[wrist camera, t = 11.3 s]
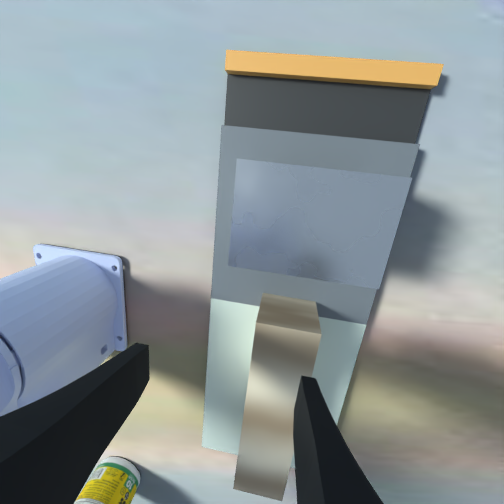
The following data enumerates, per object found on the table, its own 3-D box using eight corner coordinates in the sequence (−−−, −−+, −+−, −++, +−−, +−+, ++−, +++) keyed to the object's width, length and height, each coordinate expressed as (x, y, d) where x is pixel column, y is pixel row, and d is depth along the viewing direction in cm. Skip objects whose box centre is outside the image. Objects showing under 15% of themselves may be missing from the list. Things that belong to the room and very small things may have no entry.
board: (320, 463, 25) (322, 474, 24) (204, 436, 27) (201, 446, 26) (433, 70, 15) (443, 64, 14) (230, 57, 16) (226, 49, 15)
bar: (283, 449, 24) (282, 501, 20) (242, 439, 25) (233, 488, 21) (315, 301, 19) (321, 334, 15) (262, 292, 19) (256, 322, 16)
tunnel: (350, 250, 17) (378, 289, 12) (247, 235, 18) (227, 265, 13) (369, 174, 16) (412, 177, 10) (255, 162, 17) (236, 158, 11)
